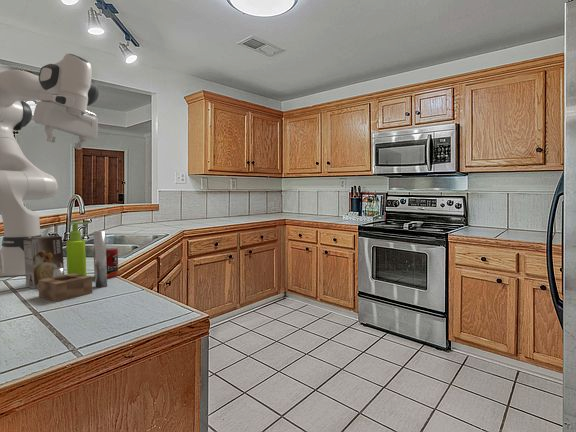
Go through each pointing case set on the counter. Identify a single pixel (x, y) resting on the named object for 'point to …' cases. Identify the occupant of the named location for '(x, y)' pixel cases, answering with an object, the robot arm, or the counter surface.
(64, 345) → the counter surface
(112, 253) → the canned food
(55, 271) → the short steel dowel
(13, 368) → the counter surface
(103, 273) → the long steel dowel
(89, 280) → the walnut socket block
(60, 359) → the counter surface
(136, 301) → the counter surface
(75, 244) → the soap dispenser
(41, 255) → the coffee box
